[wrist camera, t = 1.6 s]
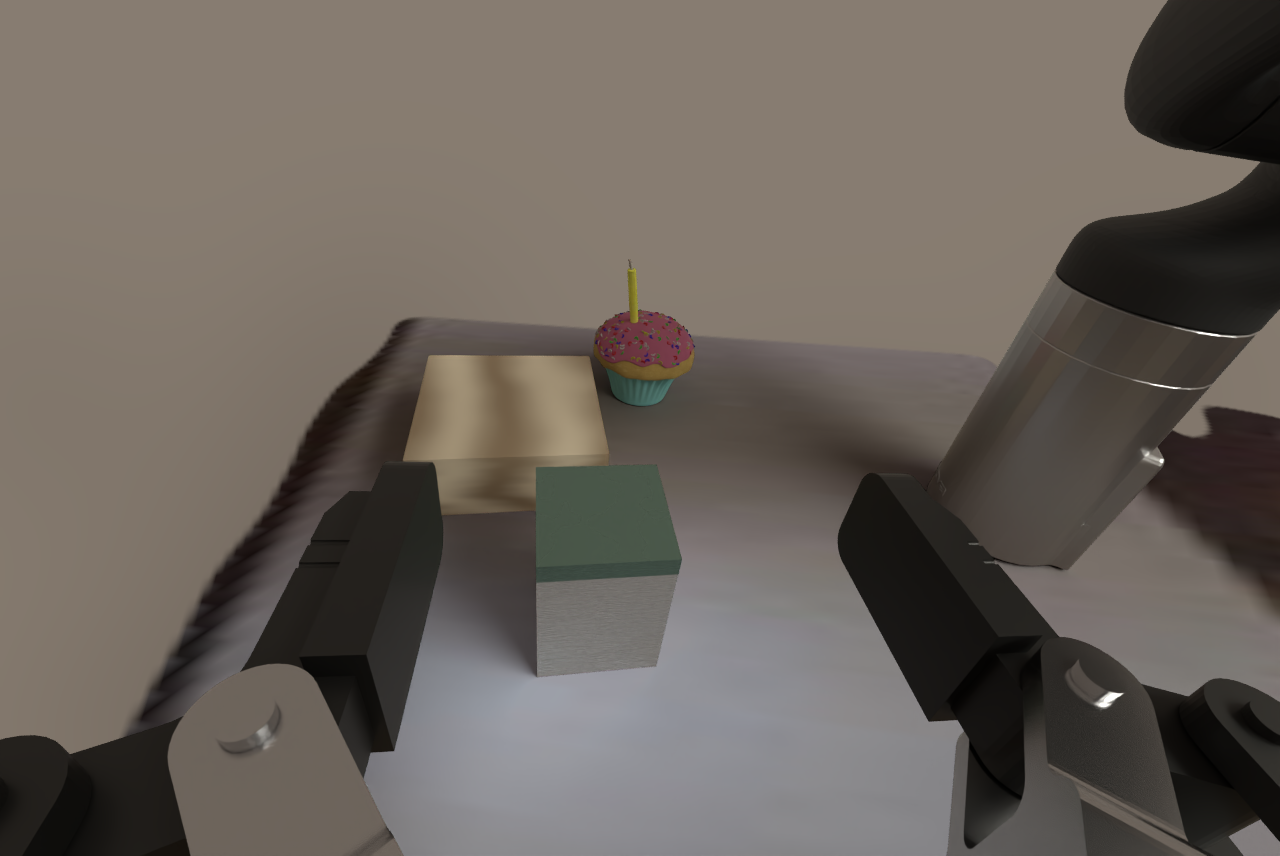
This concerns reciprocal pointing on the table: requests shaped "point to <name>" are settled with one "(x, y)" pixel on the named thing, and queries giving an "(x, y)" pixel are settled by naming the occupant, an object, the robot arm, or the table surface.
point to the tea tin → (602, 568)
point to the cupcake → (642, 351)
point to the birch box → (504, 427)
